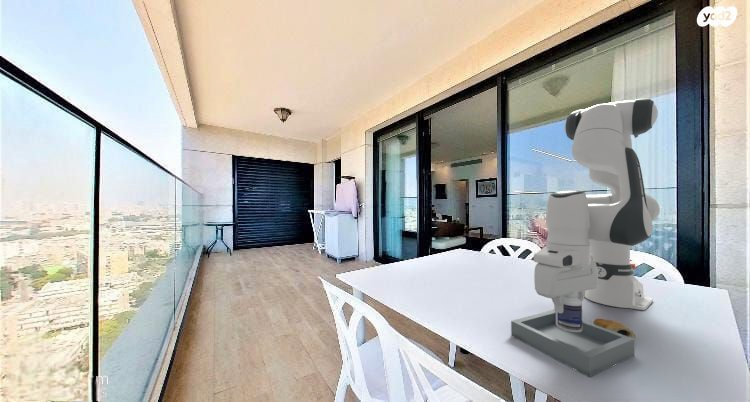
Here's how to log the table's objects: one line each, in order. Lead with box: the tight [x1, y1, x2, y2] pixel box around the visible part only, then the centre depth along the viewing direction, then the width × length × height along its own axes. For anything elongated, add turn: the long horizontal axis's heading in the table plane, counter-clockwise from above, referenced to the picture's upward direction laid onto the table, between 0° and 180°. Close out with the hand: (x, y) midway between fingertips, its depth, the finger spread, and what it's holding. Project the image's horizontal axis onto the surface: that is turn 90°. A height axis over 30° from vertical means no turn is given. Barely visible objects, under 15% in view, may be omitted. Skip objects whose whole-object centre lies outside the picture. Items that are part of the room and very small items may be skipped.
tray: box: [510, 309, 635, 378], centre depth 64 cm, size 18×18×4 cm
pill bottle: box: [555, 291, 583, 332], centre depth 64 cm, size 5×5×10 cm
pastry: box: [592, 318, 636, 340], centre depth 70 cm, size 9×7×4 cm
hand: (568, 309), depth 64 cm, fingers closed on pill bottle, 5 cm apart
